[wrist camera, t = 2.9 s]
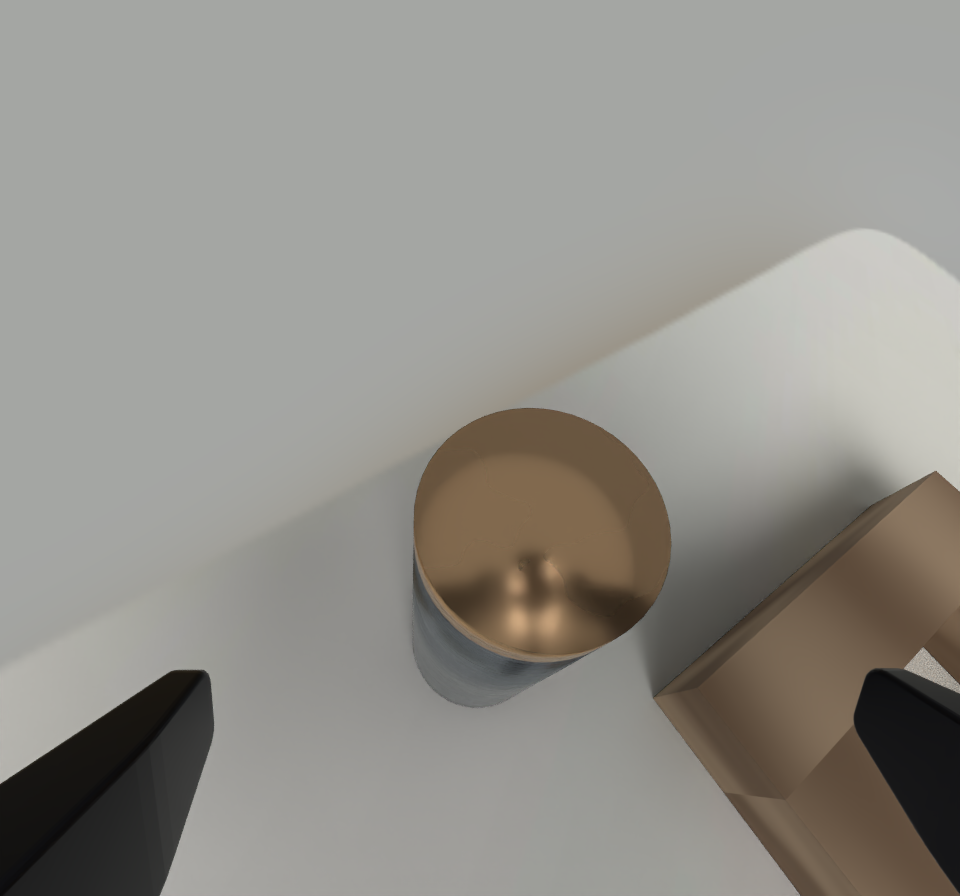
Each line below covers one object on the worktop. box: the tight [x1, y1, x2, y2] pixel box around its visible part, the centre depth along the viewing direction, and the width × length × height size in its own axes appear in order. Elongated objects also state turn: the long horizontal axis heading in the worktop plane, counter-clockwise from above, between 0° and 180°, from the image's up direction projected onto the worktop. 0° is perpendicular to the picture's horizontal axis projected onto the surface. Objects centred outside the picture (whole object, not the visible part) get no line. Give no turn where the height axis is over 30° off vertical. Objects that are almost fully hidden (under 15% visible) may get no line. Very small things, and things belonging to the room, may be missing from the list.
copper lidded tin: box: [413, 408, 671, 708], centre depth 13 cm, size 4×4×10 cm
